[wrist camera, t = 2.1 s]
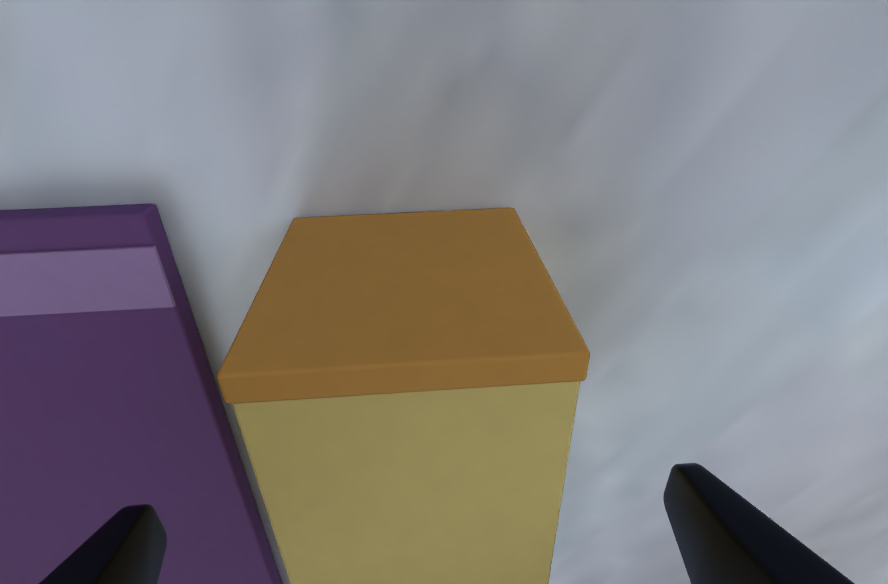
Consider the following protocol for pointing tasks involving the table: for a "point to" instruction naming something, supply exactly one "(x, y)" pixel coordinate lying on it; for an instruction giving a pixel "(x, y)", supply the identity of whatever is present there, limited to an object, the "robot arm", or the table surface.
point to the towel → (112, 401)
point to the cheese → (409, 399)
